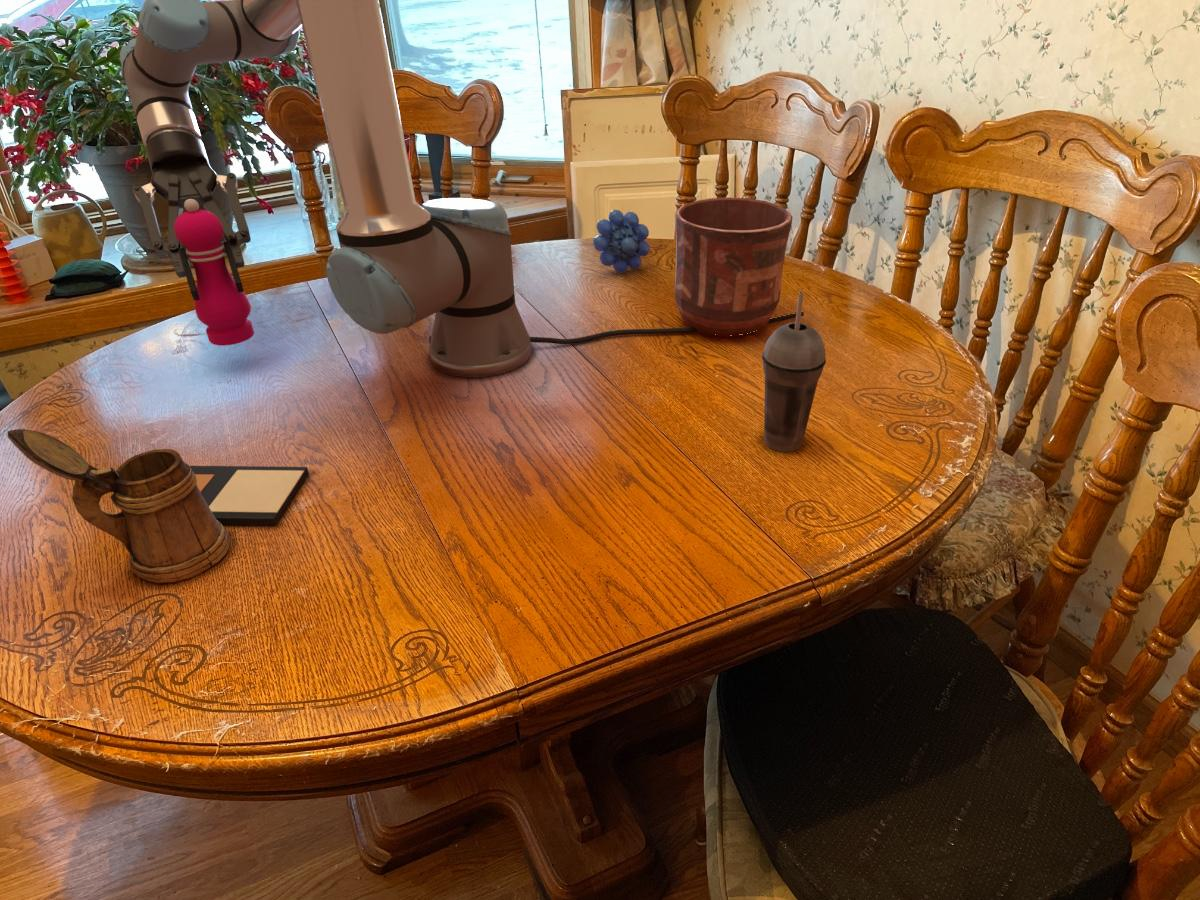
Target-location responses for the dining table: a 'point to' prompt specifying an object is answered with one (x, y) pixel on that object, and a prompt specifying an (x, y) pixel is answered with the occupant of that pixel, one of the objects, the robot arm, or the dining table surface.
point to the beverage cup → (790, 381)
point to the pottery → (729, 264)
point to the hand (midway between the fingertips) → (217, 291)
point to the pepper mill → (213, 277)
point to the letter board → (248, 492)
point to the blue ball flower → (621, 241)
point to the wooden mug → (139, 506)
